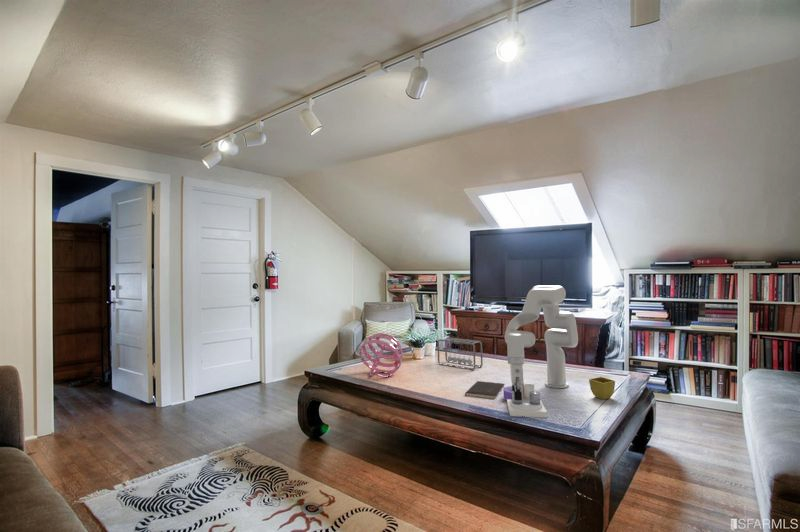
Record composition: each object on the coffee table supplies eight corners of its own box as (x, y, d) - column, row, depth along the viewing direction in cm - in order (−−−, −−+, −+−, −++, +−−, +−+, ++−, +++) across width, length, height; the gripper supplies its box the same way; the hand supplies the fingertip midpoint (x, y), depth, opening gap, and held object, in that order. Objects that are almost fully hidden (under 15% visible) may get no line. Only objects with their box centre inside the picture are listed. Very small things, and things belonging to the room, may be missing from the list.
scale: (506, 402, 200) (506, 382, 200) (540, 403, 197) (539, 383, 197) (510, 416, 182) (509, 393, 182) (547, 417, 179) (546, 394, 179)
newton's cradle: (483, 367, 272) (482, 341, 273) (474, 370, 265) (474, 343, 265) (446, 361, 292) (445, 337, 292) (437, 364, 284) (437, 339, 284)
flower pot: (603, 401, 198) (603, 383, 198) (588, 396, 206) (588, 378, 206) (616, 398, 202) (615, 380, 202) (601, 394, 210) (600, 376, 210)
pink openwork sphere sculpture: (381, 351, 235) (394, 320, 256) (344, 359, 248) (359, 329, 270) (403, 384, 246) (414, 351, 267) (367, 389, 259) (380, 358, 281)
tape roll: (507, 403, 199) (507, 393, 200) (500, 396, 211) (500, 386, 211) (531, 402, 200) (531, 392, 200) (522, 395, 212) (522, 385, 212)
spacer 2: (529, 401, 190) (528, 391, 190) (539, 402, 190) (539, 391, 190) (530, 404, 186) (530, 394, 186) (541, 405, 185) (540, 394, 185)
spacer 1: (511, 401, 192) (511, 390, 192) (521, 401, 191) (521, 390, 191) (512, 404, 187) (512, 393, 187) (523, 404, 186) (522, 393, 187)
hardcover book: (504, 387, 227) (504, 383, 227) (495, 400, 206) (495, 395, 206) (476, 384, 234) (476, 380, 234) (465, 396, 213) (464, 392, 213)
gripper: (526, 364, 180) (527, 403, 180) (521, 356, 197) (522, 391, 197) (509, 364, 181) (510, 402, 181) (506, 356, 198) (507, 391, 198)
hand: (516, 396), depth 189 cm, fingers open, 9 cm apart
